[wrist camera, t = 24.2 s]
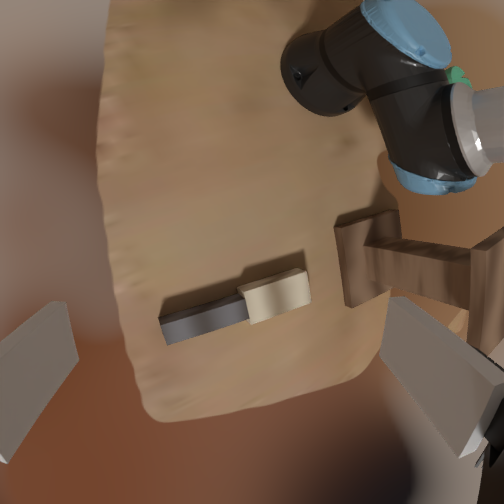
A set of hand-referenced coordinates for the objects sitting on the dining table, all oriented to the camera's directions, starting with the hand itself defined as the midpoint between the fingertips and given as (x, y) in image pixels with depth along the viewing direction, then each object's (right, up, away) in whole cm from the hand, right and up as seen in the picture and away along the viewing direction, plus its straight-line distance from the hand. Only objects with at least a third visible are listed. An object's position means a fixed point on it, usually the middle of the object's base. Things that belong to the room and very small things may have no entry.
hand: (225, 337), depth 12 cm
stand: (+22, +2, +42) cm, 48 cm away
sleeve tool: (-2, -4, +34) cm, 34 cm away
